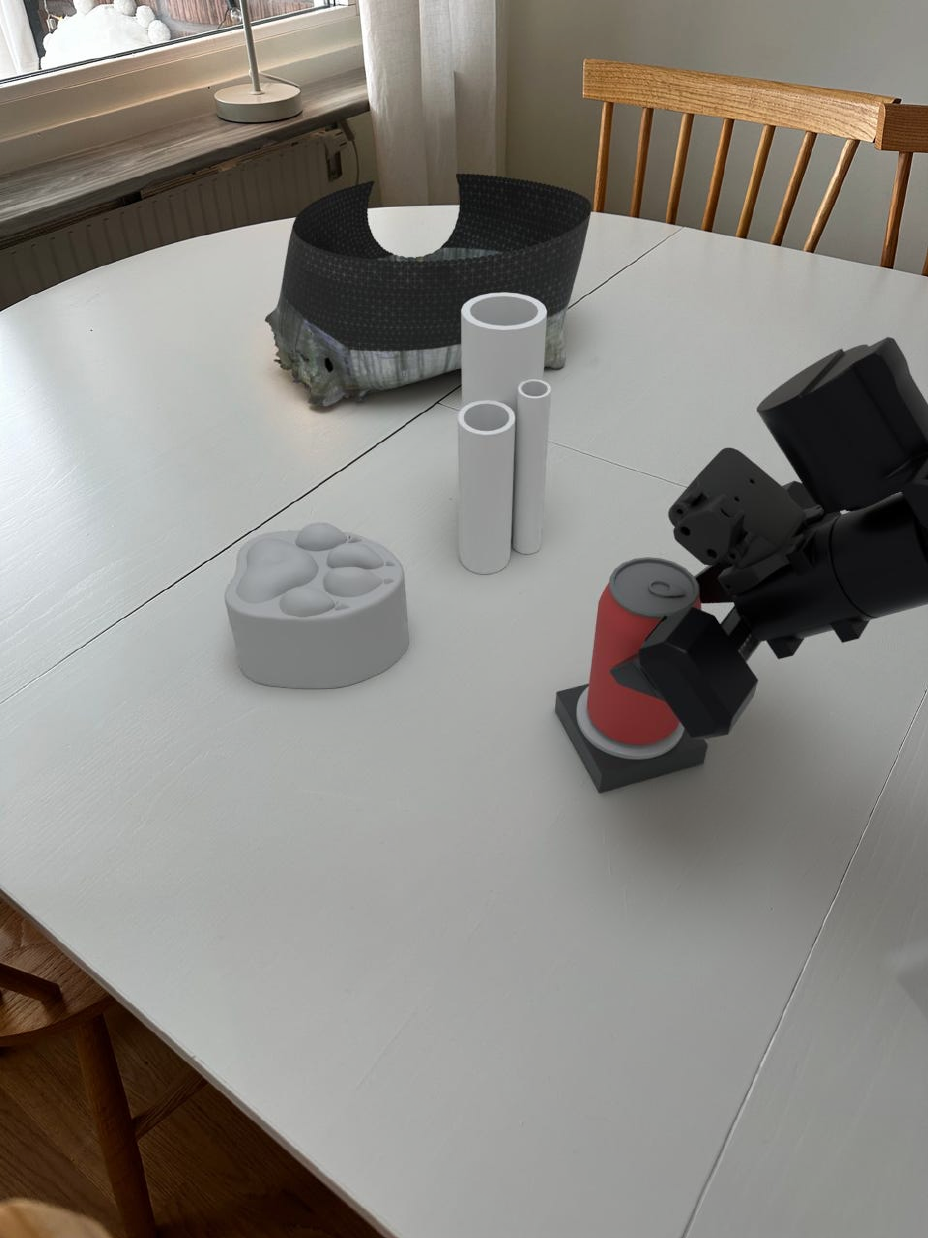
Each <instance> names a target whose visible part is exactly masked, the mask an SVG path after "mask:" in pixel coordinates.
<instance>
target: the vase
mask: <svg viewBox="0 0 928 1238" xmlns="http://www.w3.org/2000/svg"><path fill="white" fill-rule="evenodd" d="M546 319H547V310H546V308H545V305H543V304H542V303H541V302H540V301H539V300H537V299H534V298H532V297H530V296H526V295H521V294H517V293H490V294H485V295H480V296H478V297H475V298H473V299H470V300H469V301H468V302H466V303H465V304H464V305H463V307H462V310H461V345H462V368H461V409H460V410H459V412H458V414H457V456H458V457H457V460H458V461H457V463H458V464H457V465H458V467H457V468H458V469H457V471H458V473H457V474H458V476H457V477H458V545H459V546H458V552H459V553H458V554H459V561H460V563H461V564H462V566H463V567H464V568H465V569H467V570H468V571H469V572H472V573H474V574H480V575H493V574H495V573H498V572H500V571H502V570H503V569H505V568H506V567H507V565H508V564H509V563H510V560H511V554H512V553H511V552H512V548H513V549H514V551H516V552H518V553H519V554H522V555H533V554H536V553H537V552H538V551H540V549H541V548H542V539H543V526H544V525H543V524H544V507H545V494H546V493H545V492H546V491H545V490H546V478H547V477H546V476H547V462H548V461H547V460H548V445H549V430H550V413H551V412H550V411H551V396H552V388H551V385H550V384H549V383H548V382H546V381H545V380H544V373H545V372H544V370H545V367H544V355H545V337H546Z"/></svg>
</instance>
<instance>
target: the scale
mask: <svg viewBox="0 0 928 1238" xmlns="http://www.w3.org/2000/svg"><path fill="white" fill-rule="evenodd" d="M588 688H589V683H586V684H581V685H577V686H574V687H570V688H566V689H562V690H558V691H556V693H555V705H554V711H555V713H556V715H557V717H558V719H559V720H560V723H561V724H562V726H563V728H564V730H565V732H566V734H567V735H568V737H569V739H570V741H571V743H572V745H573V746H574V748H575V750H576V753H577V754H578V756H579V758H580V759H581V762H582V763H583V765H584V767H585V769H586V771H587V773H588V775H589V776H590V779H591V780H592V782H593V784H594V786H595V788H596V789H597V792H598V793H599V794H600V793H605V792H608V791H611V790H615V789H618V788H621V787H624V786H628V785H632V784H635V783H640V782H642V781H643V782H644V781H646V780H650V779H653V778H656V777H660V776H663V775H667V774H671V773H674V772H677V771H681V770H685V769H688V768H692V767H697V766H700V765H702V764H704V763H705V760H706V759H705V758H706V755H707V751H708V747H709V744H708V743H707V741H706V739H703V740H700V739H693V738H691V737H690V736H689V734H688V733H687V731H686V730H685V728H684V727H683V726H682V724H681V723H680V722H679V724H678V727H677V728H676V729H675V730H674V731H673V732H672V733H671V734H670V735H669V736H668V737H667V738H665V739H663V740H660V741H658V742H656V743H652V744H645V745H633V744H625V743H622V742H619V741H616V740H614V739H611V738H610V737H608V736H607V735H605V734H604V733H602V732H601V731H599V729H598V728H597V727H596V726H595V725H594V723H593V722H592V721H591V719H590V716H589V713H588V711H587V697H588Z"/></svg>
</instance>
